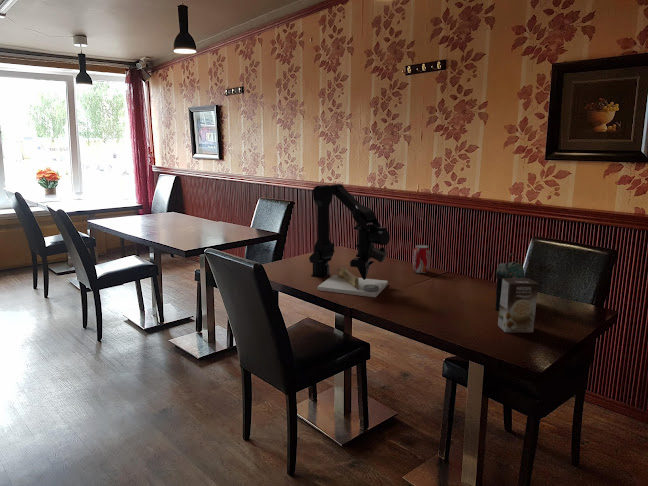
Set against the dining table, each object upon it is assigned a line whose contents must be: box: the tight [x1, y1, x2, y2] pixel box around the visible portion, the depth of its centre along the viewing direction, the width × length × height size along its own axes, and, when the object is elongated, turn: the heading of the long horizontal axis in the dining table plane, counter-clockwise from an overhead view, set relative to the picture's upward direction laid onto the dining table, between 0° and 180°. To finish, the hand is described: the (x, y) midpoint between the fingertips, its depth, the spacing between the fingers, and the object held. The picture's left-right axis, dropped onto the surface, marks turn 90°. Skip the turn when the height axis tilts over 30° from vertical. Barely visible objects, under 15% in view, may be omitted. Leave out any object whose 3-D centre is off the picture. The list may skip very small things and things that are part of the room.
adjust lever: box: [337, 267, 360, 287], centre depth 200 cm, size 17×4×4 cm, turn 19°
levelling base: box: [317, 274, 389, 298], centre depth 198 cm, size 24×18×3 cm
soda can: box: [412, 244, 431, 274], centre depth 219 cm, size 7×7×12 cm
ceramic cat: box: [495, 252, 526, 312], centre depth 175 cm, size 20×6×20 cm, turn 139°
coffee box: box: [497, 277, 539, 333], centre depth 154 cm, size 9×6×16 cm
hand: (364, 279), depth 197 cm, fingers closed
